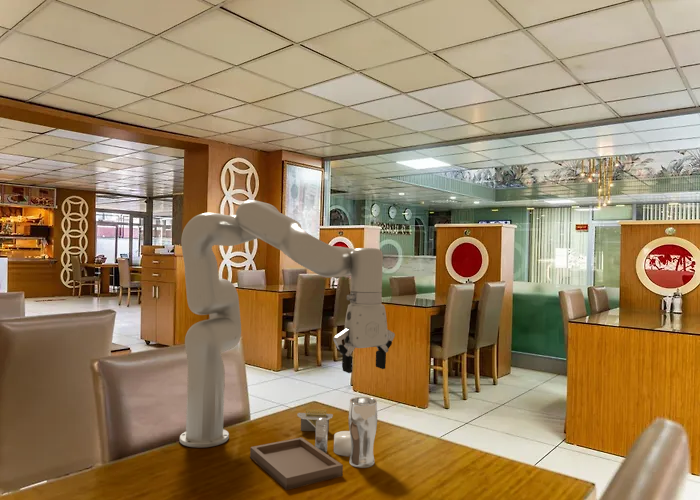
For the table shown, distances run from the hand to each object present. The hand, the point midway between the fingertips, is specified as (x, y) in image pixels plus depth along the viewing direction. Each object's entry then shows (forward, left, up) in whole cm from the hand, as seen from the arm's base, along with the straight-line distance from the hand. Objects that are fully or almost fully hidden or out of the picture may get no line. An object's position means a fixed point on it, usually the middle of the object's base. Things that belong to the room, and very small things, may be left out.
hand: (364, 369), depth 124 cm
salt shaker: (-11, -5, -22) cm, 25 cm away
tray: (-6, -15, -22) cm, 28 cm away
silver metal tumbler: (0, 0, -23) cm, 23 cm away
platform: (-24, 0, -23) cm, 34 cm away
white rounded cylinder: (-8, +1, -22) cm, 24 cm away
